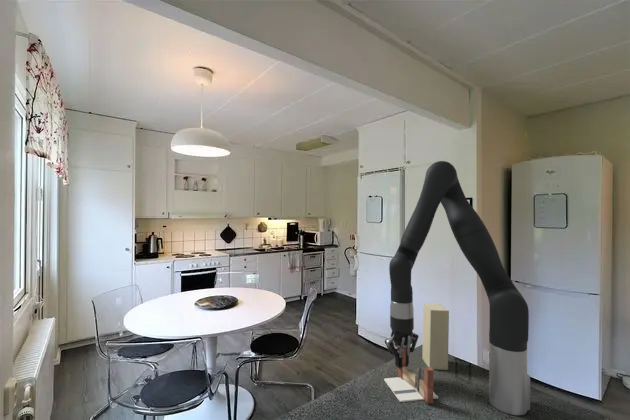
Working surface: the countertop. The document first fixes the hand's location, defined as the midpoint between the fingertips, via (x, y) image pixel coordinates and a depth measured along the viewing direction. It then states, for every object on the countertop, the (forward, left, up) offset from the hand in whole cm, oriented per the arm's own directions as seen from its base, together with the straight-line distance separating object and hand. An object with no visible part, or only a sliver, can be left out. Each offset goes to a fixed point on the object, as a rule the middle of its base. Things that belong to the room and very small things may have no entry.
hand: (402, 366), depth 100 cm
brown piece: (-2, +11, -4) cm, 12 cm away
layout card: (0, +6, -4) cm, 7 cm away
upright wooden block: (-17, -7, -4) cm, 19 cm away
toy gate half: (-1, +3, -3) cm, 4 cm away
